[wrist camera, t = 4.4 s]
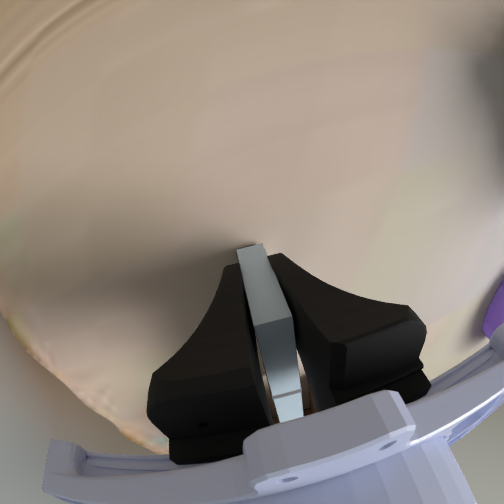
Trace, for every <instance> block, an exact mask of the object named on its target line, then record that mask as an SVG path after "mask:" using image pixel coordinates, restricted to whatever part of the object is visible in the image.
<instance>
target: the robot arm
mask: <svg viewBox="0 0 504 504" xmlns="http://www.w3.org/2000/svg"><path fill="white" fill-rule="evenodd" d="M267 258H268V260H269V263H270V265H271V268H272V270H273V271H274V273H275V275H276V278H277V280H278V283H279V285H280V288H281V290H282V292H283V295H284V297H285V300H286V302H287V305H288V307H289V310H290V312H291V314H292V319H293V327H294V335H295V343H296V349H297V351H298V353H299V356H300V358H301V361H302V364H303V367H304V370H305V373H306V377H307V380H308V383H309V386H310V389H311V392H312V396H313V399H314V402H315V405H316V409H317V413H314V414H311V415H307V416H304V417H300V418H297V419H293V420H289V421H285V422H281V423H277V424H274V423H273V419H272V415H271V411H270V407H269V403H268V399H267V395H266V391H265V387H264V383H263V379H262V374H261V370H260V365H259V359H258V352H257V344H256V336H255V329H254V325H253V320H252V316H251V312H250V307H249V303H248V299H247V294H246V290H245V286H244V281H243V276H242V271H241V267H240V263H237V264H232V265H228V266H225V268H224V270H223V274H222V278H221V281H220V284H219V287H218V289H217V292H216V295H215V297H214V299H213V301H212V303H211V305H210V307H209V309H208V311H207V313H206V315H205V317H204V318H203V320H202V321H201V323H200V325H199V326H198V328H197V329H196V330H195V332H194V333H193V334H192V336H191V337H190V338H189V340H188V341H187V342H186V343H185V344H184V345H183V346H182V347H181V349H180V350H179V351H178V352H177V353H176V354H175V355H174V356H173V357H171V358H170V359H169V360H168V361H167V362H166V363H165V364H163V365H162V366H161V367H160V368H159V369H158V370H156V371H155V372H154V373H153V374H152V378H151V382H150V386H149V391H148V401H147V416H148V418H149V420H150V421H151V422H152V423H153V424H154V425H155V426H156V427H157V428H158V429H159V430H160V431H161V432H162V433H163V434H165V435H166V436H167V437H168V438H169V454H167V455H124V454H107V453H95V452H86V451H85V450H84V449H83V448H82V447H80V446H79V445H77V444H75V443H72V442H68V441H61V440H55V439H52V440H50V444H49V449H48V454H47V460H46V465H45V471H44V478H43V484H42V490H43V491H44V492H46V493H48V494H50V495H52V496H54V497H56V498H59V499H61V500H63V501H65V502H67V503H70V504H477V502H476V500H475V498H474V496H473V494H472V492H471V489H470V487H469V485H468V483H467V481H466V479H465V477H464V475H463V473H462V471H461V469H460V467H459V465H458V463H457V461H456V459H455V457H454V455H453V453H452V452H451V450H450V448H449V446H451V445H452V444H454V443H455V442H456V441H458V440H459V439H461V438H462V437H463V436H465V435H466V434H467V433H468V432H470V431H471V430H472V429H473V428H475V427H476V426H477V425H478V424H480V423H481V422H482V421H483V420H484V419H485V418H487V417H488V416H489V415H490V414H491V413H492V412H493V411H495V410H496V409H497V408H498V407H499V406H500V405H501V404H502V403H503V402H504V323H503V324H501V325H500V326H499V327H498V328H497V329H496V330H495V331H494V333H493V335H492V336H491V339H490V341H489V343H488V344H487V345H486V346H484V347H483V348H482V349H480V350H479V351H477V352H476V353H474V354H473V355H471V356H470V357H468V358H467V359H465V360H464V361H462V362H461V363H459V364H458V365H456V366H455V367H453V368H451V369H450V370H448V371H446V372H445V373H443V374H441V375H440V376H438V377H436V378H434V379H433V380H431V381H429V380H428V379H427V377H426V376H425V374H424V373H423V371H422V370H421V369H423V367H424V366H423V363H422V362H421V360H420V359H419V355H420V353H421V350H422V347H423V345H424V342H425V338H426V333H427V330H426V326H425V324H424V323H423V322H422V321H421V319H420V318H419V317H418V316H417V314H416V313H415V312H414V311H413V310H412V309H411V308H410V307H409V306H408V305H400V304H393V303H385V302H380V301H376V300H371V299H367V298H364V297H360V296H357V295H354V294H351V293H348V292H346V291H343V290H340V289H338V288H336V287H334V286H331V285H329V284H327V283H325V282H323V281H321V280H320V279H318V278H316V277H314V276H313V275H311V274H310V273H308V272H307V271H305V270H304V269H302V268H301V267H299V266H298V265H297V264H295V263H294V262H293V261H291V260H290V259H289V258H287V257H286V256H285V255H283V254H282V253H278V254H274V255H270V256H267Z"/></svg>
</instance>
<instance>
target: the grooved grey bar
mask: <svg viewBox="0 0 504 504" xmlns="http://www.w3.org/2000/svg"><path fill="white" fill-rule="evenodd" d="M237 255H238V259H239V263H240V267H241V271H242V276H243V281H244V286H245V290H246V294H247V299H248V303H249V307H250V312H251V316H252V320H253V325H254V329H255V332H256V336H257V340H258V344H259V348H260V352H261V356H262V360H263V364H264V368H265V372H266V376H267V380H268V384H269V388H270V393H271V397H272V400H273V399H274V403H275V406H276V410H277V414H278V417H279V421H280V423H281V422H285V421H289V420H293V419H297V418H300V417H304V416H303V406H302V396H301V392H302V387H301V384H300V377H299V368H298V360H297V351H296V343H295V335H294V327H293V319H292V314H291V312H290V310H289V307H288V305H287V302H286V300H285V297H284V295H283V292H282V290H281V288H280V285H279V283H278V280H277V278H276V275H275V273H274V271H273V270H272V268H271V265H270V263H269V260H268V258H267V254H266V251H265V249H264V246H263V244H258V245H254V246H249V247H245V248H241V249H237Z"/></svg>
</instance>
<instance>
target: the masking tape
mask: <svg viewBox="0 0 504 504" xmlns="http://www.w3.org/2000/svg"><path fill="white" fill-rule="evenodd" d="M503 323H504V280H503V282H502V284H501V285H500V287H499V289H498V290H497V292H496V294H495V296H494V298H493V300H492V302H491V304H490V306H489V308H488V310H487V313H486V315H485V318H484V322H483V332H484V334H485V335H486V336H487V337H488V338H489V339H491V336H492V335H493V333H494V331H495V330H496V329H497V328H498V327H499V326H500V325H501V324H503Z"/></svg>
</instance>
